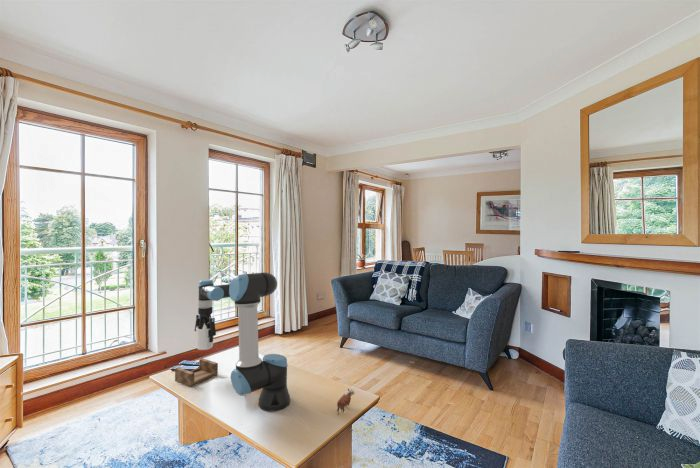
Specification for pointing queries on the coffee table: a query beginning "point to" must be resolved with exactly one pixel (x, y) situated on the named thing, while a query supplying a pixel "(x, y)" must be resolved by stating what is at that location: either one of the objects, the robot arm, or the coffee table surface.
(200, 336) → the candle holder
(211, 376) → the wooden tray
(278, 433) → the coffee table surface
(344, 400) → the bull figurine
